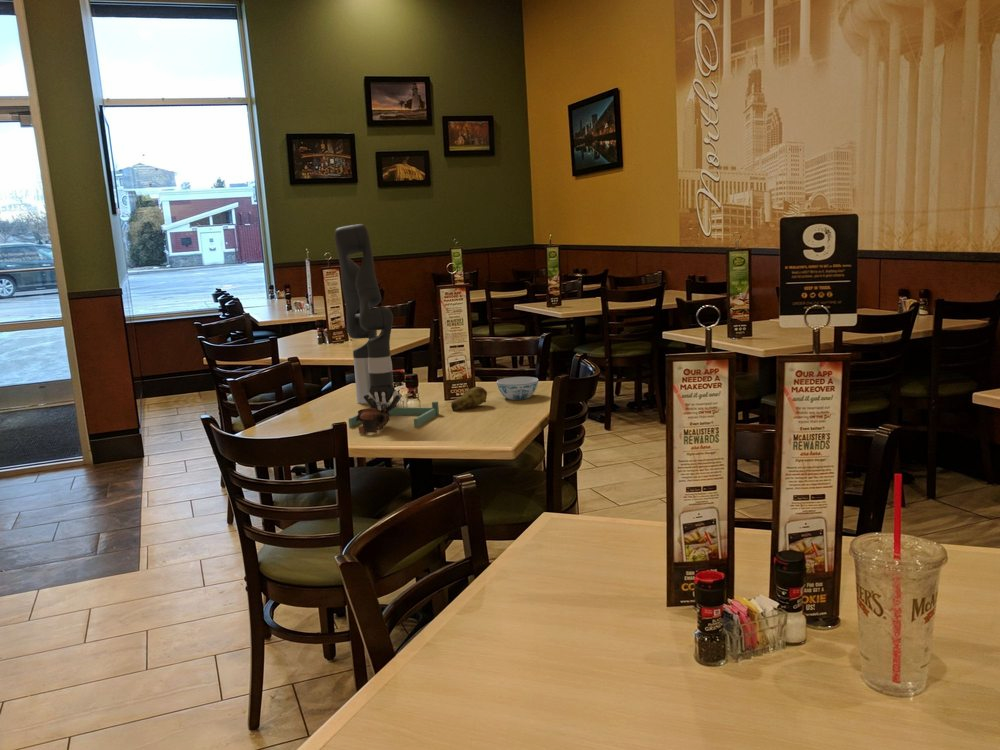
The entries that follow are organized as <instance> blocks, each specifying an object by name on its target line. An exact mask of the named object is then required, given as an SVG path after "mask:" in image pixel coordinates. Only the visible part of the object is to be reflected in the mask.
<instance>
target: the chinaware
mask: <svg viewBox="0 0 1000 750" xmlns="http://www.w3.org/2000/svg"><path fill="white" fill-rule="evenodd" d="M538 384H539V379H538V377H533V376H513V377H504V378H500V379H497V380H496V386H497V388H498V391H499V392H500V394H501V395H502V396H503V398H505V399H507V400H511V401H519V400H526V399H529V398H531V397H532V396H533V395H534V394H535V392H536V390H537V388H538Z"/></svg>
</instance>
